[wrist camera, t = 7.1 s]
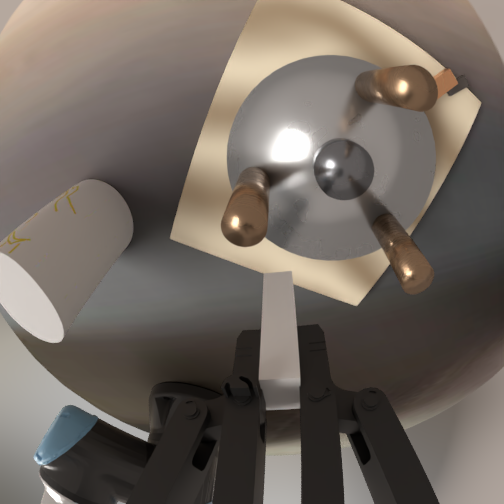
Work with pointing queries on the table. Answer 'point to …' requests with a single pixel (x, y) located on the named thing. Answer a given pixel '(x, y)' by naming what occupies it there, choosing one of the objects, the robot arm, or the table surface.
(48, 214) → the cup
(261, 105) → the capstan wheel
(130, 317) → the table surface
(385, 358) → the table surface
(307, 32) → the base board
